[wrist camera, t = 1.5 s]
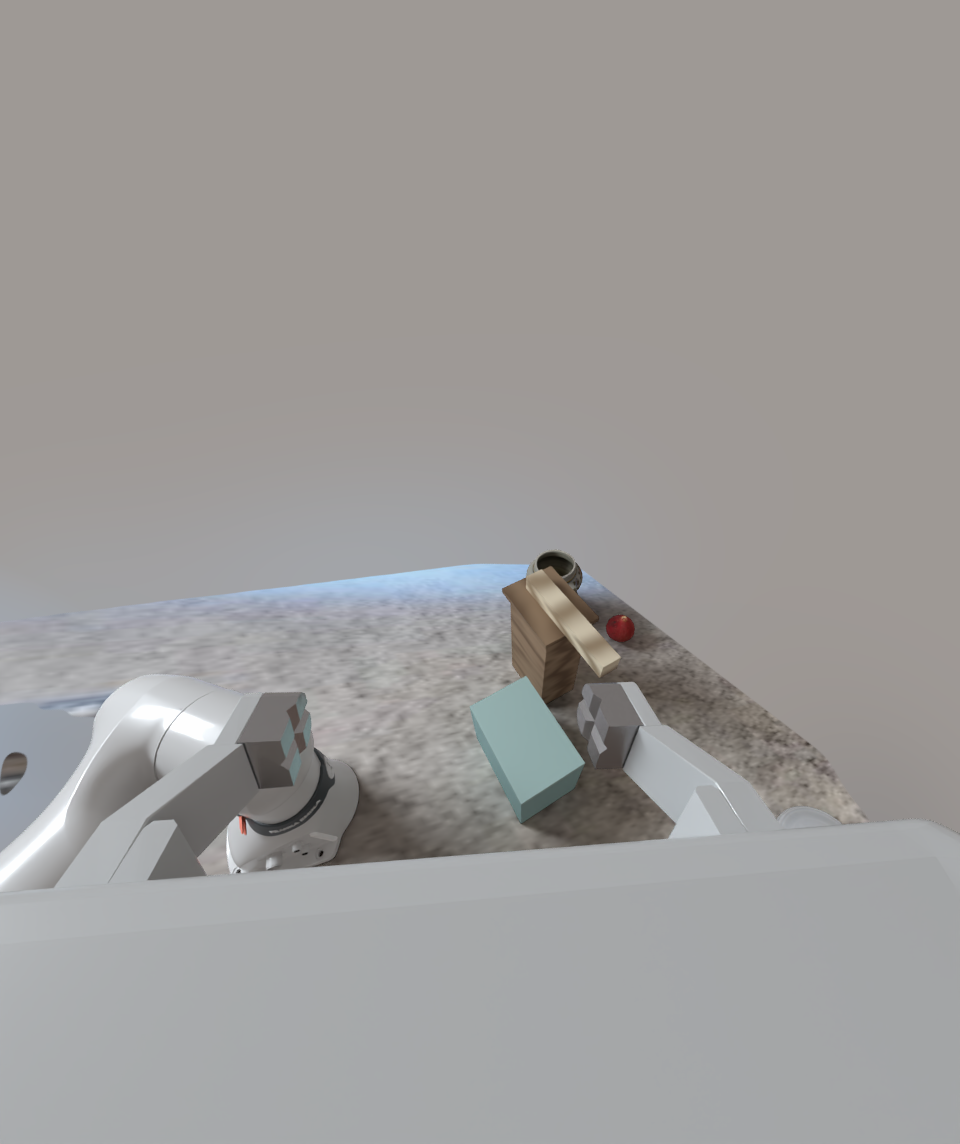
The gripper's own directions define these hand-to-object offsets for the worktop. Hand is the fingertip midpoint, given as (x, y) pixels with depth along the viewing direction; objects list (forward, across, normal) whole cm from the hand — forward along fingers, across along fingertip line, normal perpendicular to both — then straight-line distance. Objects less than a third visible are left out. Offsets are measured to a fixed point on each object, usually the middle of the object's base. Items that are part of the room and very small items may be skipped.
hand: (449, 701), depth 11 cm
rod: (+38, +20, -26) cm, 50 cm away
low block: (+35, +16, -56) cm, 68 cm away
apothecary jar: (+66, +27, -44) cm, 83 cm away
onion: (+57, +41, -44) cm, 83 cm away
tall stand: (+51, +22, -49) cm, 74 cm away
